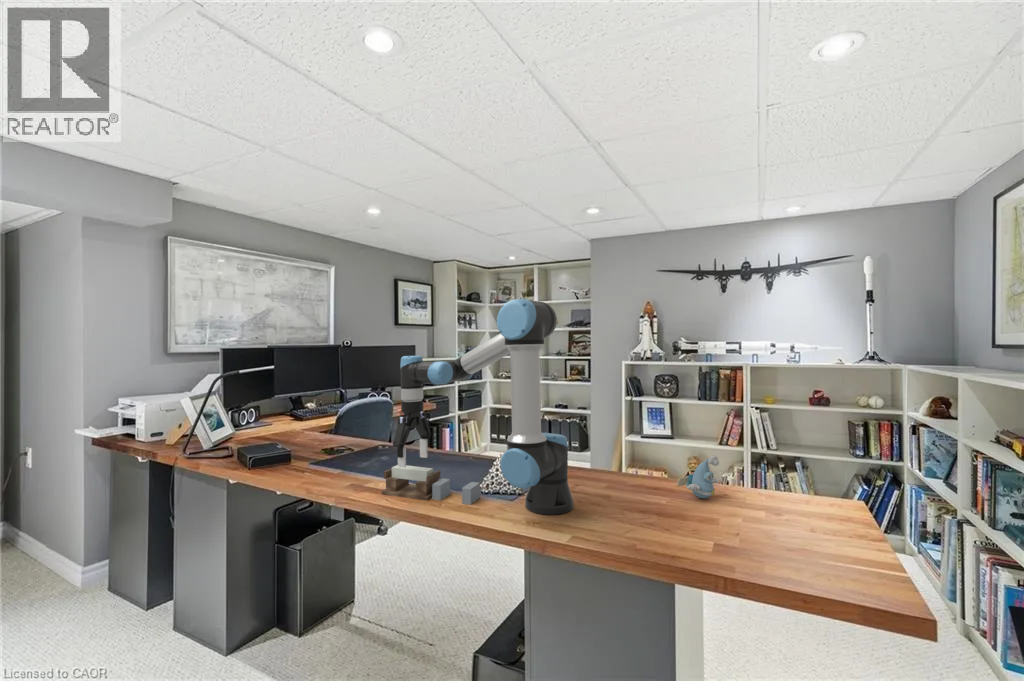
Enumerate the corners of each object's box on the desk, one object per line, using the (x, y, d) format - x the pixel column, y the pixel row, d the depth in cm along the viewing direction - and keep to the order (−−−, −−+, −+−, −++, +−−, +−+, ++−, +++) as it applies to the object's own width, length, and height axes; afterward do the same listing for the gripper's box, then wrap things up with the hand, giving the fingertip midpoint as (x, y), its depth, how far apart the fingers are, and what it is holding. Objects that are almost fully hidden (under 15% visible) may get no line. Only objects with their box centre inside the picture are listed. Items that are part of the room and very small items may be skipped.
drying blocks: (479, 497, 156) (479, 482, 156) (470, 504, 150) (470, 489, 150) (442, 492, 161) (442, 478, 161) (432, 499, 155) (432, 484, 155)
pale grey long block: (432, 478, 161) (432, 468, 161) (426, 481, 157) (426, 471, 157) (398, 474, 166) (398, 464, 166) (391, 477, 162) (391, 467, 162)
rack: (442, 491, 163) (442, 469, 163) (427, 500, 154) (427, 477, 154) (398, 485, 169) (398, 464, 169) (381, 493, 160) (381, 472, 160)
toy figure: (705, 508, 147) (705, 460, 147) (675, 499, 155) (675, 454, 155) (730, 496, 158) (730, 452, 158) (701, 488, 166) (701, 446, 166)
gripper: (422, 396, 174) (423, 453, 174) (380, 404, 151) (382, 470, 151) (439, 396, 172) (440, 454, 172) (400, 405, 148) (401, 472, 148)
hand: (413, 462), depth 161 cm, fingers open, 13 cm apart
